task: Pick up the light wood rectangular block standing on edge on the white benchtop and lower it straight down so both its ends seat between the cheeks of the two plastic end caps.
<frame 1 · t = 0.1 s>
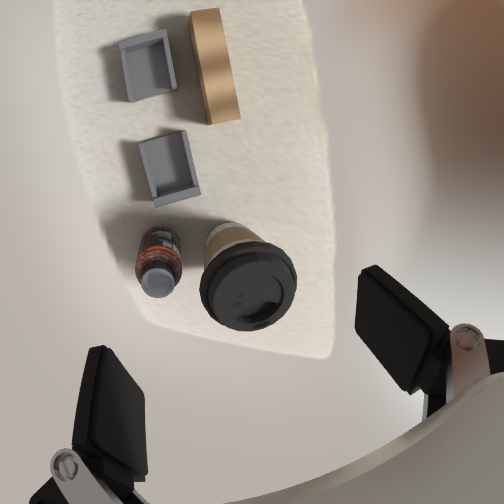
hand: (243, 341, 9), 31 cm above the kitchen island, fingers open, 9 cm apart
supplement bottle: (160, 243, 39), on the kitchen island
cap a: (145, 46, 26), on the kitchen island
coffee cup: (229, 243, 42), on the kitchen island
cap b: (176, 191, 36), on the kitchen island
light wood rectangular block: (210, 69, 30), on the kitchen island
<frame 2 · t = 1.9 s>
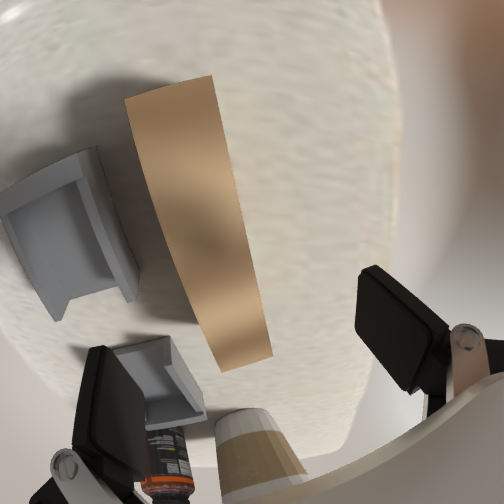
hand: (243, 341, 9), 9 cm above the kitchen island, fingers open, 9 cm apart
supplement bottle: (159, 427, 26), on the kitchen island
cap a: (55, 174, 12), on the kitchen island
coffee cup: (242, 420, 29), on the kitchen island
cap b: (171, 395, 23), on the kitchen island
light wood rectangular block: (202, 223, 17), on the kitchen island
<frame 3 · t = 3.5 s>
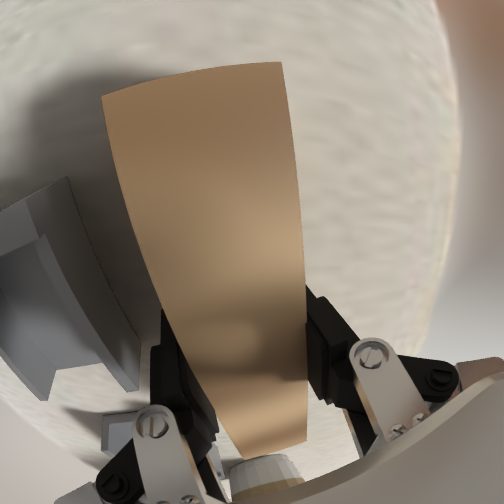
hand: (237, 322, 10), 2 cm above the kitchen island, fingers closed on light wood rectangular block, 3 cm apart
cap a: (17, 216, 8), on the kitchen island
coffee cup: (258, 464, 24), on the kitchen island
cap b: (182, 451, 18), on the kitchen island
light wood rectangular block: (225, 286, 12), on the kitchen island, touching gripper
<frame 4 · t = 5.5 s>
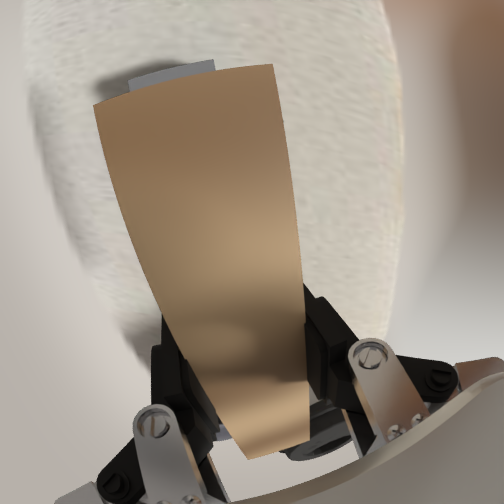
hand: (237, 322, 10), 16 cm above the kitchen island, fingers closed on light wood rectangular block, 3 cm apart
cap a: (172, 83, 18), on the kitchen island
coffee cup: (283, 345, 34), on the kitchen island
light wood rectangular block: (225, 288, 12), point 13 cm above the kitchen island, touching gripper
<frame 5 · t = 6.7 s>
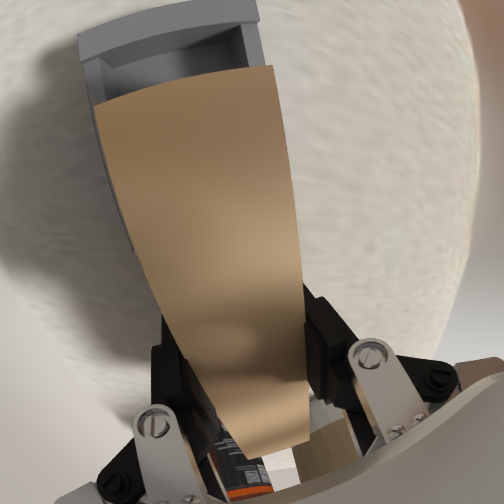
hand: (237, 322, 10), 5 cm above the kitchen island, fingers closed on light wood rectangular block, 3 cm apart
supplement bottle: (220, 428, 22), on the kitchen island
cap a: (168, 45, 9), on the kitchen island
coffee cup: (316, 410, 25), on the kitchen island
light wood rectangular block: (225, 288, 12), point 2 cm above the kitchen island, touching gripper
when the fingers open (4 cm above the kitchen island, at t = 7.4 s): light wood rectangular block stays where it is, resting on cap a, cap b.
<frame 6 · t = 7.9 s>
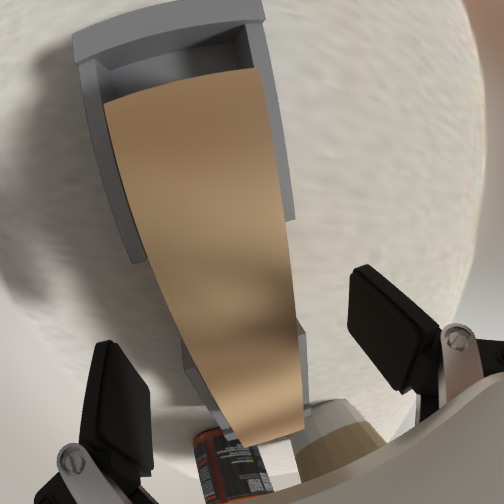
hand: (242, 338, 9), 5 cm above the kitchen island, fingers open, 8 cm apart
supplement bottle: (222, 436, 22), on the kitchen island
cap a: (168, 46, 8), on the kitchen island
coffee cup: (319, 417, 24), on the kitchen island
cap b: (255, 390, 19), on the kitchen island
light wood rectangular block: (222, 277, 13), point 1 cm above the kitchen island, touching cap a, cap b
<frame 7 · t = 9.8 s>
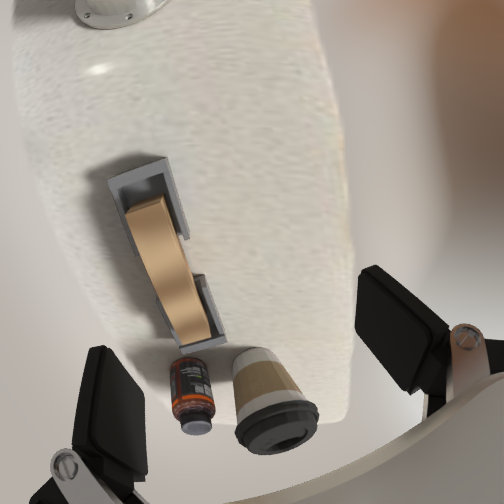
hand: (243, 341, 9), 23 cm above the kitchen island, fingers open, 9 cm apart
supplement bottle: (188, 368, 39), on the kitchen island
cap a: (141, 171, 27), on the kitchen island
coffee cup: (253, 362, 41), on the kitchen island
cap b: (200, 329, 36), on the kitchen island
light wood rectangular block: (171, 262, 31), point 1 cm above the kitchen island, touching cap a, cap b
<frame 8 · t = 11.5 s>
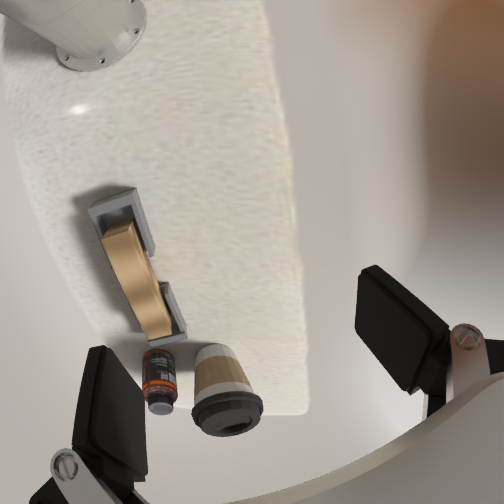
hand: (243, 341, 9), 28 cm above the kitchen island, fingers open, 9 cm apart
supplement bottle: (158, 358, 45), on the kitchen island
cap a: (116, 199, 32), on the kitchen island
coffee cup: (214, 356, 48), on the kitchen island
cap b: (167, 326, 42), on the kitchen island
light wood rectangular block: (141, 272, 36), point 1 cm above the kitchen island, touching cap a, cap b
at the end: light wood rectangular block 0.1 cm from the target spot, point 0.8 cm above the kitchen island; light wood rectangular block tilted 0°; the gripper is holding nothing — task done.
